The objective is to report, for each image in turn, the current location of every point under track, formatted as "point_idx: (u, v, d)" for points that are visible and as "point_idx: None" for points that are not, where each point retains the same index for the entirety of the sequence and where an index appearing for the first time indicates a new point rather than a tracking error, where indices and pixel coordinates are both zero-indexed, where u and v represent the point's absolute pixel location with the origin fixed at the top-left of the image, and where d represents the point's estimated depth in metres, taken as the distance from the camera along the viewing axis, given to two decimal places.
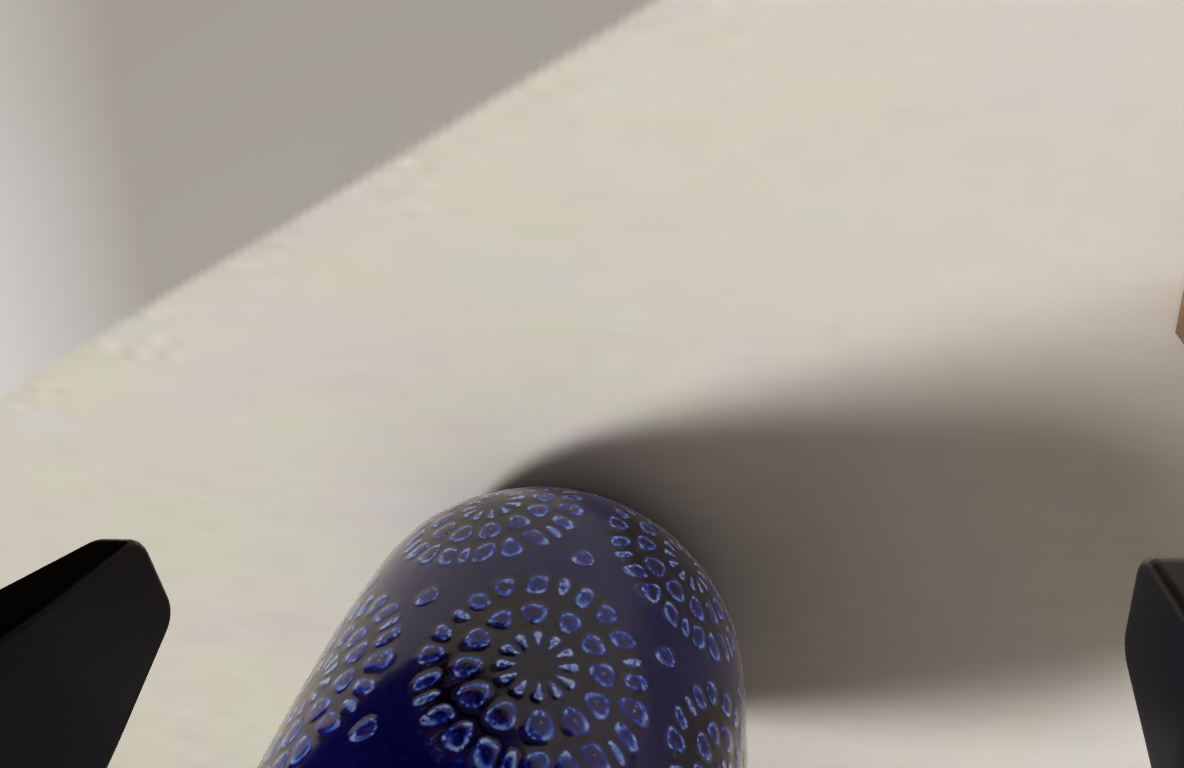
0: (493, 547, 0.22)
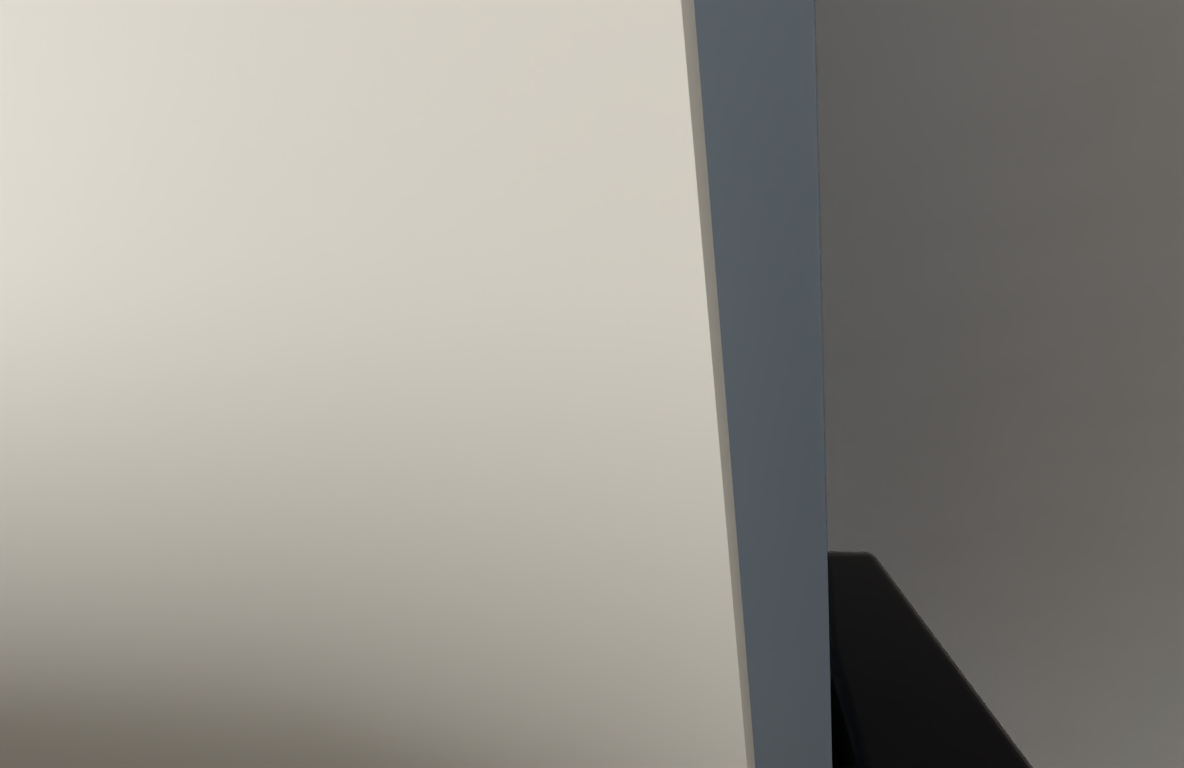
0: None
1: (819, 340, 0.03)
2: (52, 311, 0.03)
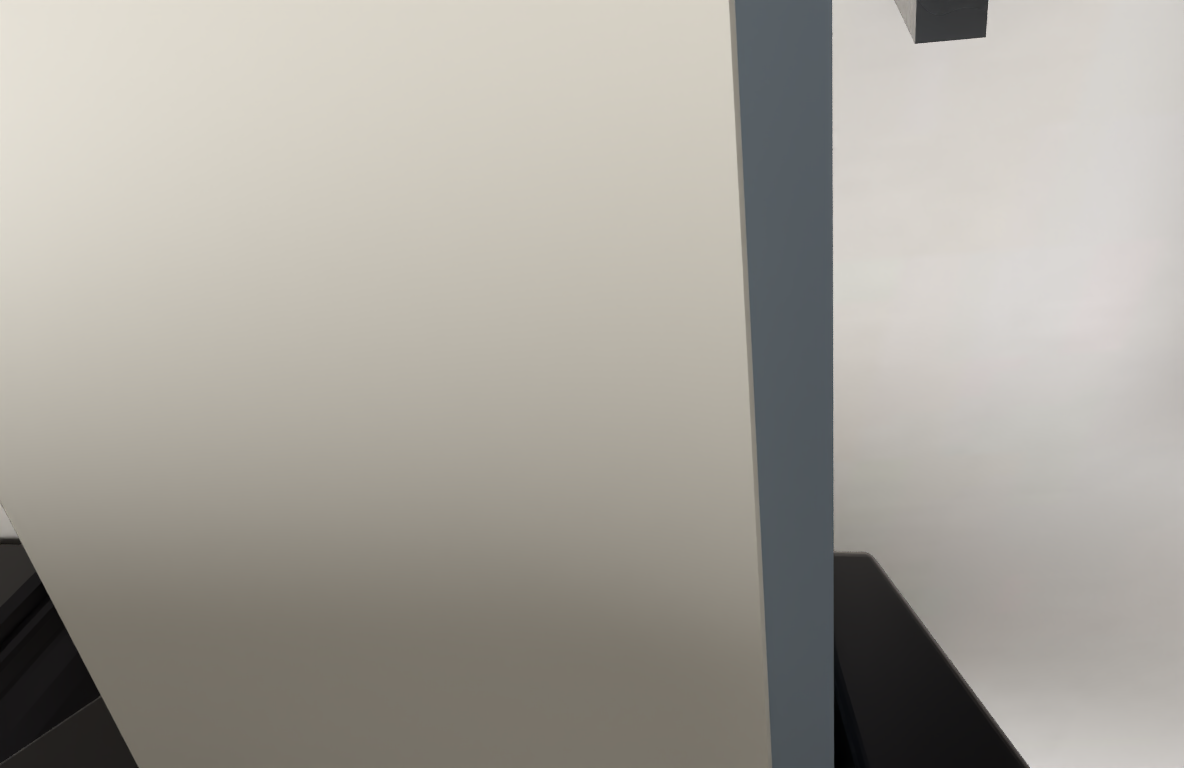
0: None
1: (829, 245, 0.03)
2: (178, 214, 0.04)
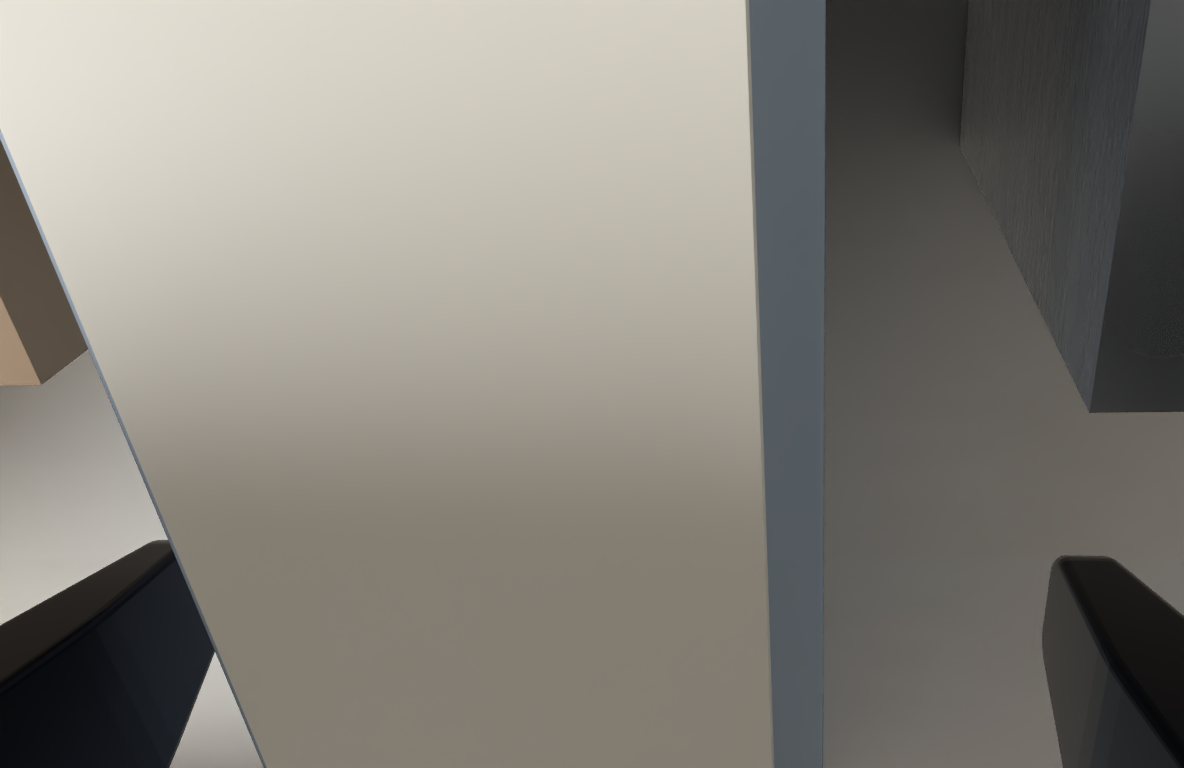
0: None
1: (822, 176, 0.04)
2: (289, 147, 0.04)
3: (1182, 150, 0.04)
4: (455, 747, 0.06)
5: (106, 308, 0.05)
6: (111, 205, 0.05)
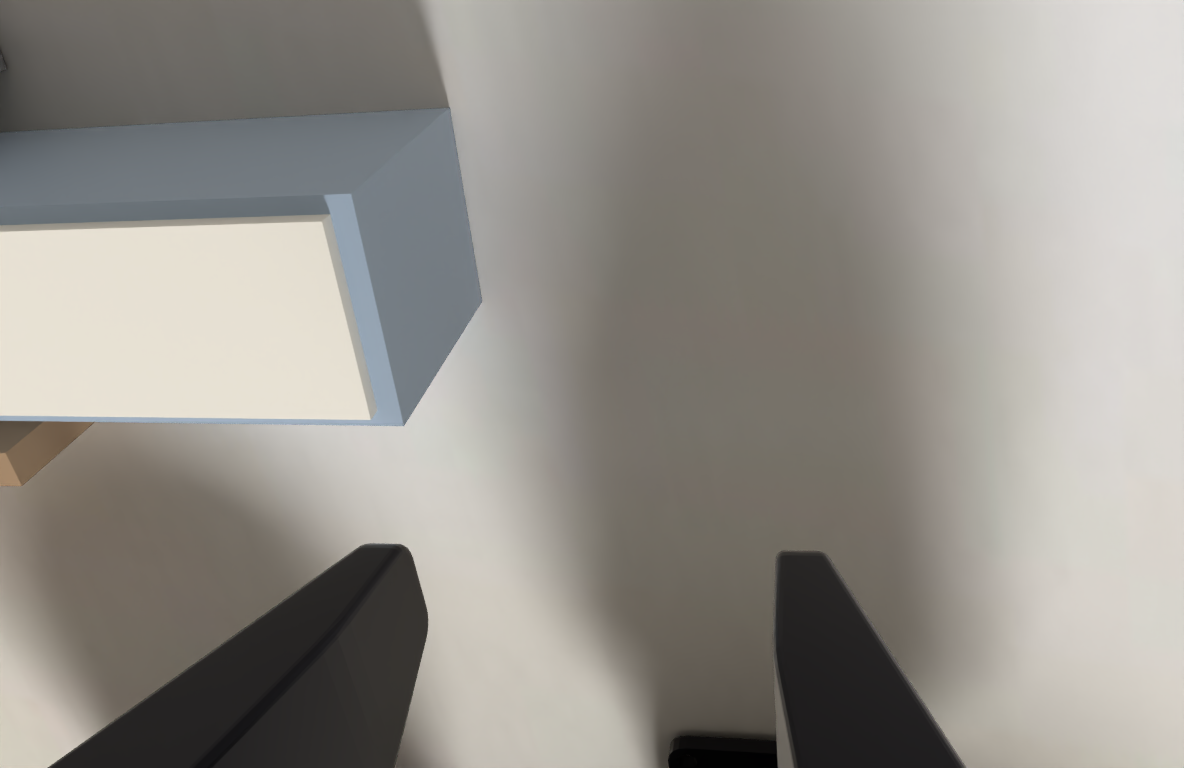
0: None
1: None
2: None
3: None
4: None
5: None
6: None
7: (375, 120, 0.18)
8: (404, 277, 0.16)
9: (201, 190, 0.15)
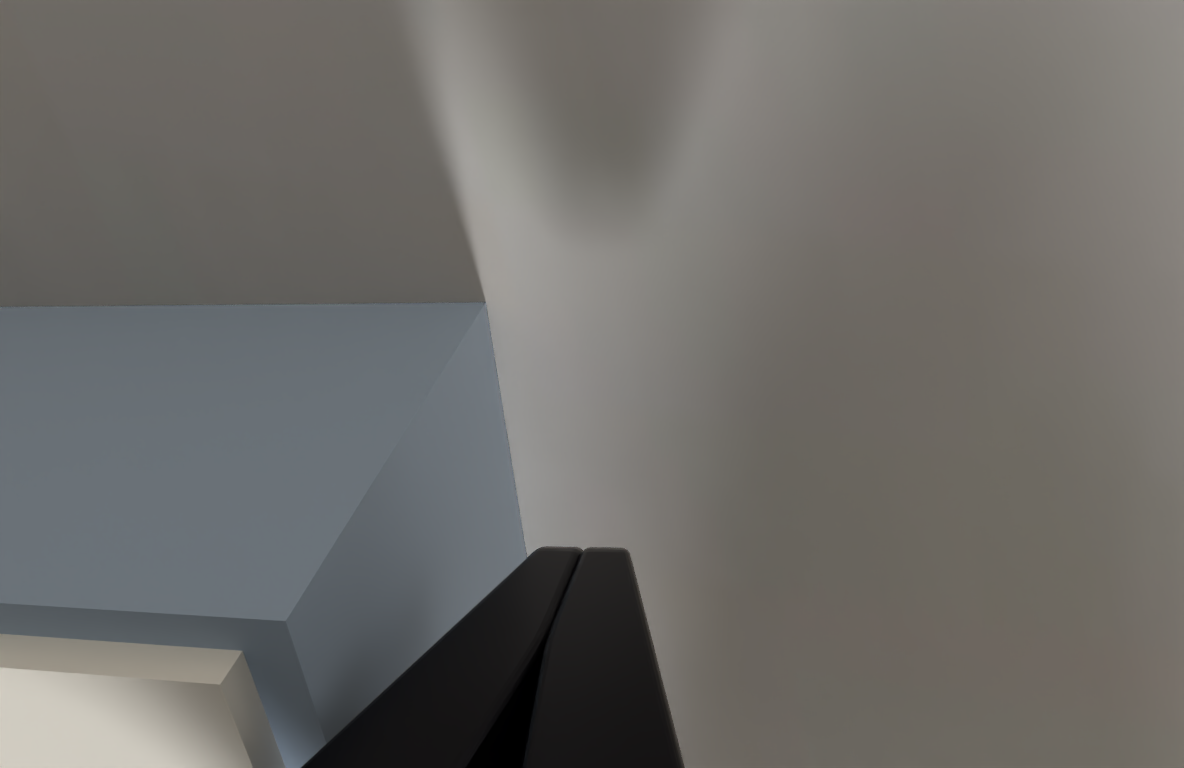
0: None
1: None
2: None
3: None
4: None
5: None
6: None
7: (356, 332, 0.10)
8: None
9: None
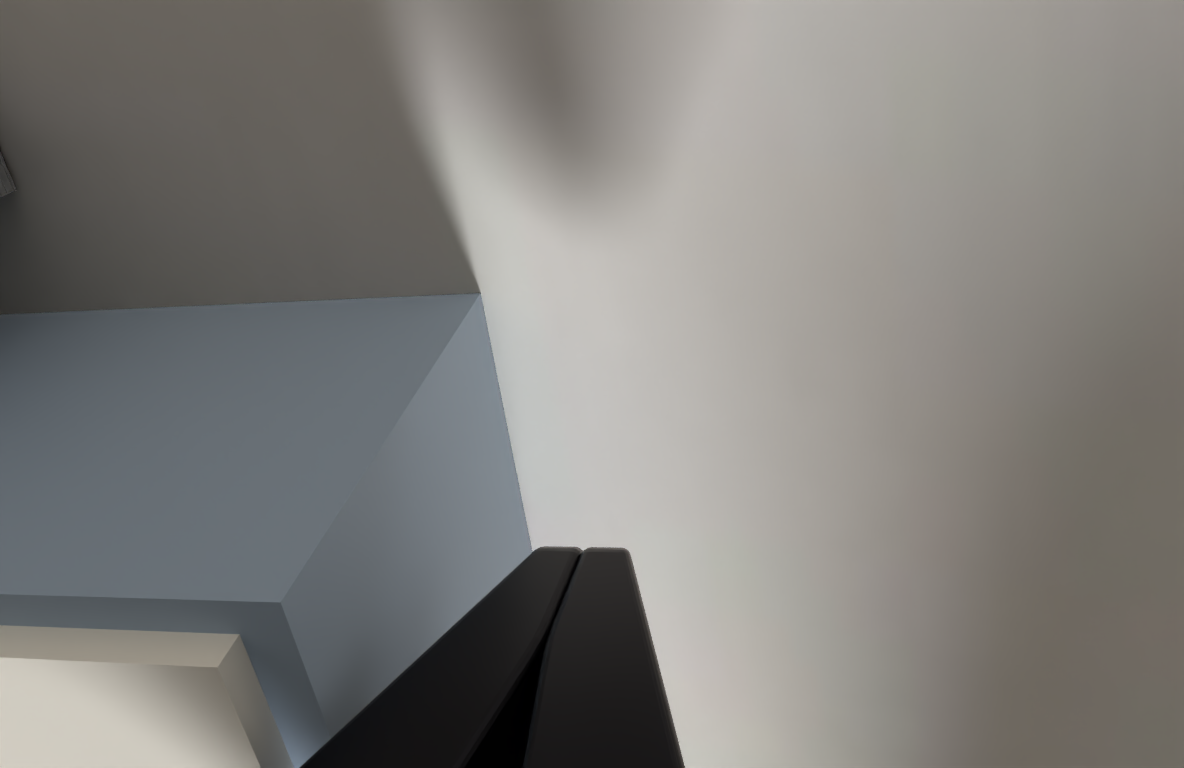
0: None
1: None
2: None
3: None
4: None
5: None
6: None
7: (352, 325, 0.10)
8: (407, 667, 0.08)
9: None
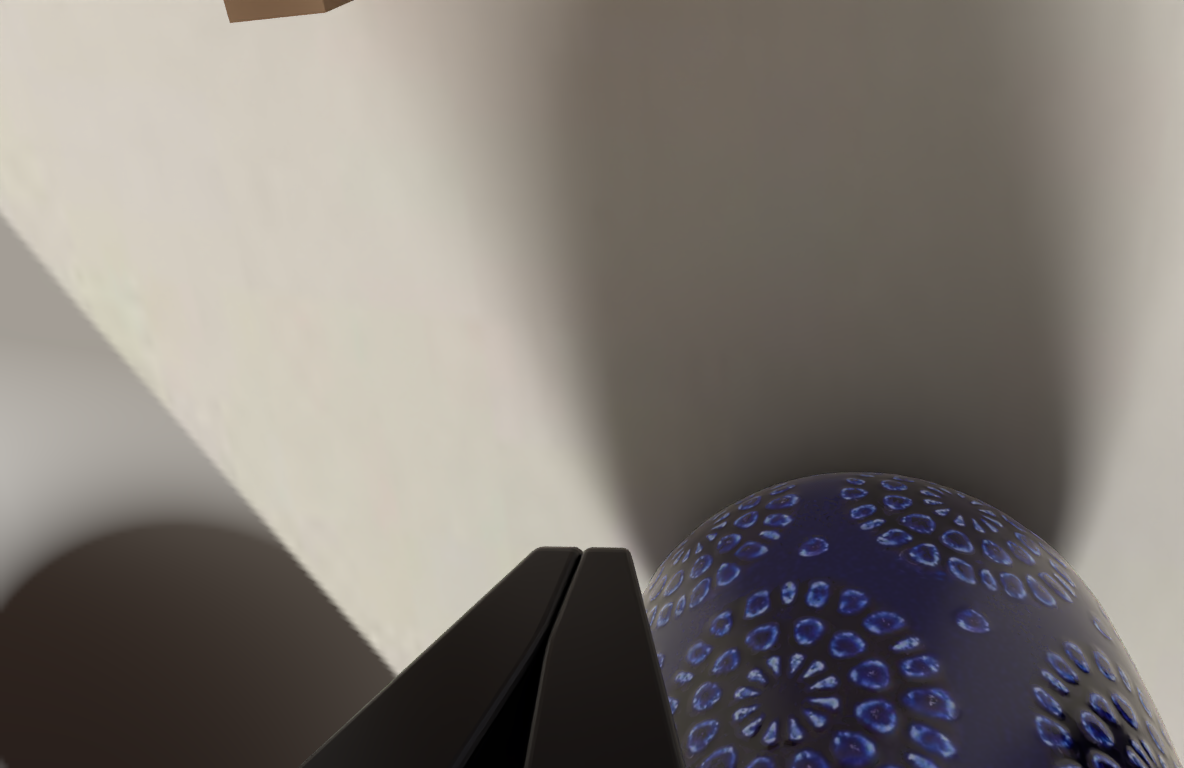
0: None
1: None
2: None
3: None
4: None
5: None
6: None
7: None
8: None
9: None
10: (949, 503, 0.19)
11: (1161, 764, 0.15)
